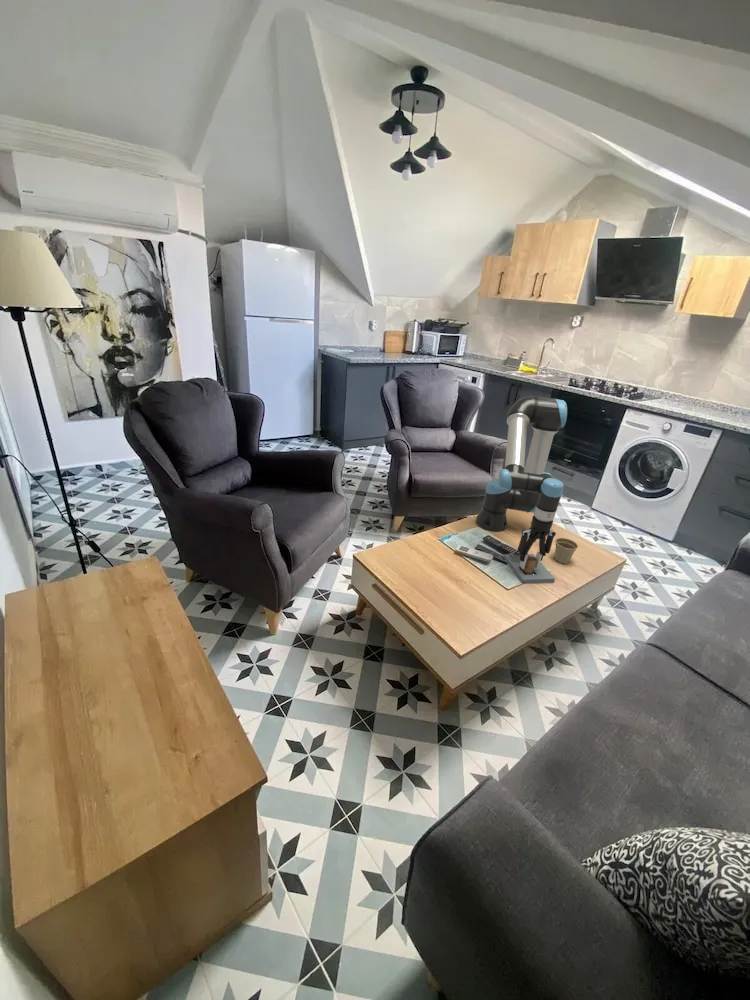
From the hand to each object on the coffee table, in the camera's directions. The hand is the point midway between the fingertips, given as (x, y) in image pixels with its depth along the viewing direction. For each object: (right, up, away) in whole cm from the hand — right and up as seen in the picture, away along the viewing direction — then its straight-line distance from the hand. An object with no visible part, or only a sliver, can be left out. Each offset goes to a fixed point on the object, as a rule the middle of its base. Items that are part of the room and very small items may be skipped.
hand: (528, 566), depth 171 cm
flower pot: (+20, +1, +14) cm, 24 cm away
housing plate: (+1, -2, +5) cm, 5 cm away
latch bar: (-1, +2, +8) cm, 8 cm away
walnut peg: (0, -4, +2) cm, 4 cm away
